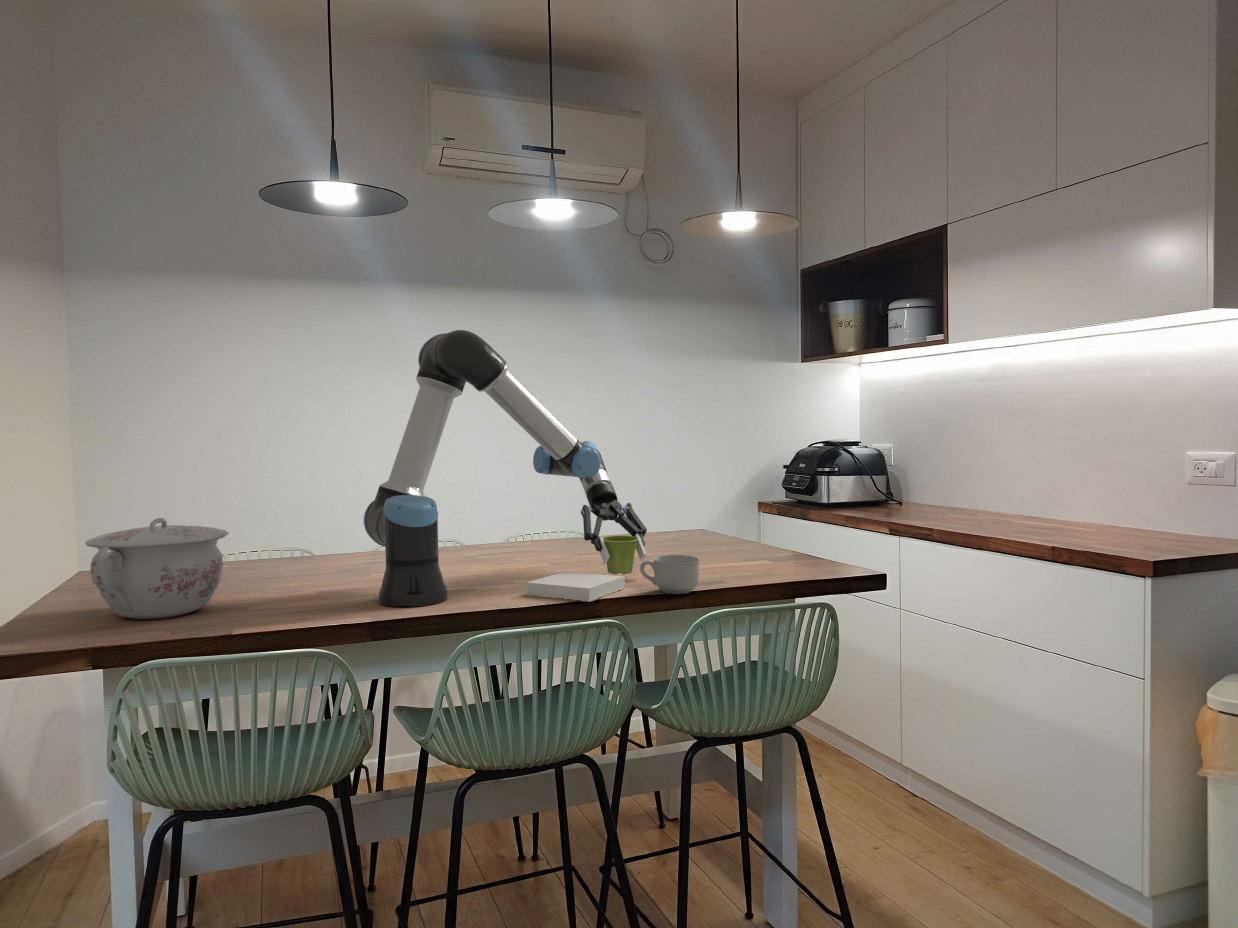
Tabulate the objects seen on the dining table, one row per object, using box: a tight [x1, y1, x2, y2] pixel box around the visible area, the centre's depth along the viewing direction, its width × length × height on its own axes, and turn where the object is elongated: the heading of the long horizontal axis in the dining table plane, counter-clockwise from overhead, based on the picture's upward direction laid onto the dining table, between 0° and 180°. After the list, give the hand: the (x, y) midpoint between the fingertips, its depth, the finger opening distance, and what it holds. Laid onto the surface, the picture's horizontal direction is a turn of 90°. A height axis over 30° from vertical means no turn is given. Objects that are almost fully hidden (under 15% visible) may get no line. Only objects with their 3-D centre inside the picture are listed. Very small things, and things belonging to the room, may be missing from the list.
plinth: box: [526, 570, 626, 603], centre depth 203 cm, size 17×16×3 cm
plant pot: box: [602, 535, 639, 575], centre depth 218 cm, size 9×9×9 cm
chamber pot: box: [84, 517, 230, 620], centre depth 187 cm, size 28×28×21 cm
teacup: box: [639, 553, 701, 595], centre depth 202 cm, size 14×11×8 cm
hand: (625, 558), depth 215 cm, fingers closed on plant pot, 9 cm apart
